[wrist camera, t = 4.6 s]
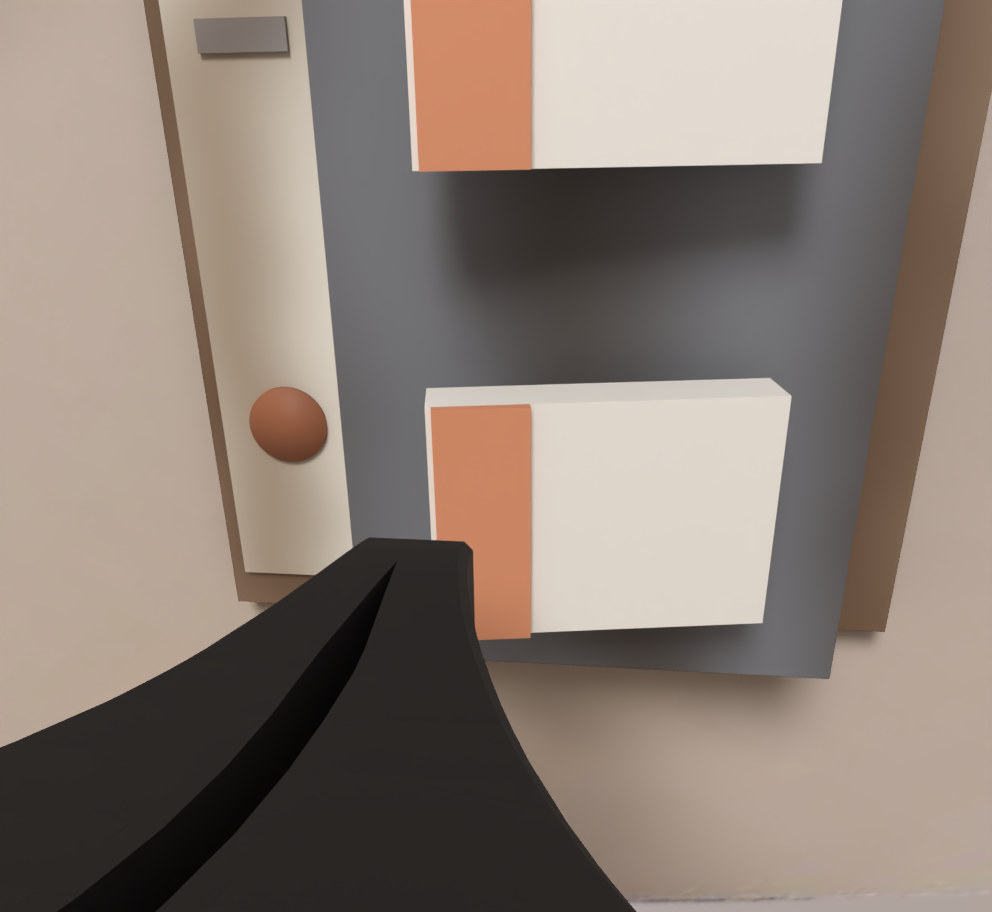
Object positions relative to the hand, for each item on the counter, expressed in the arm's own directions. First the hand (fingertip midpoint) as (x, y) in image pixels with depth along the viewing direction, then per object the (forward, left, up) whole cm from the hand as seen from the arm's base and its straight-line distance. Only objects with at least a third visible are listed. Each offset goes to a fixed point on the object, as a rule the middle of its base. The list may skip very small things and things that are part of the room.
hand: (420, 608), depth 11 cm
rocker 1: (-2, -7, -5) cm, 9 cm away
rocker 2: (-2, +1, -5) cm, 6 cm away
